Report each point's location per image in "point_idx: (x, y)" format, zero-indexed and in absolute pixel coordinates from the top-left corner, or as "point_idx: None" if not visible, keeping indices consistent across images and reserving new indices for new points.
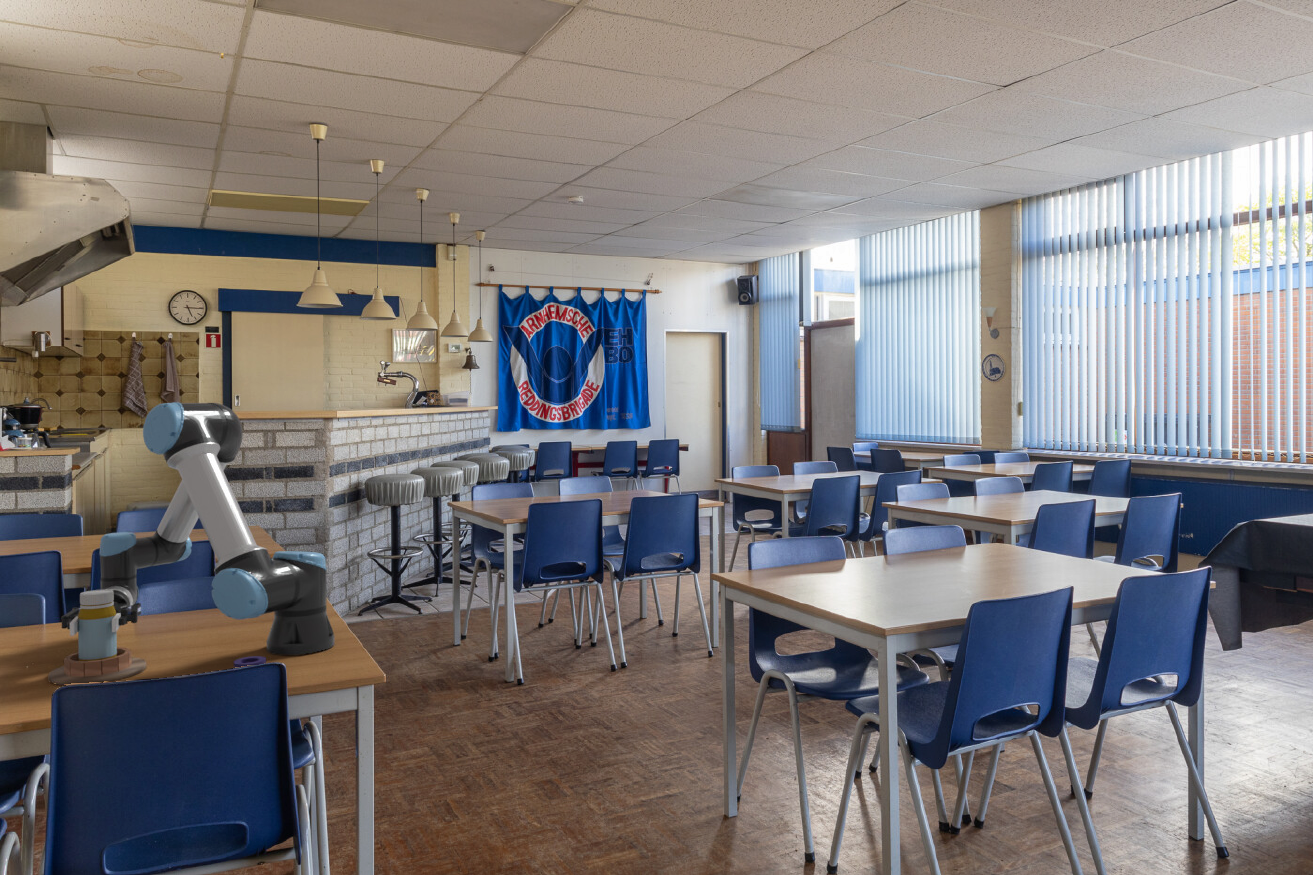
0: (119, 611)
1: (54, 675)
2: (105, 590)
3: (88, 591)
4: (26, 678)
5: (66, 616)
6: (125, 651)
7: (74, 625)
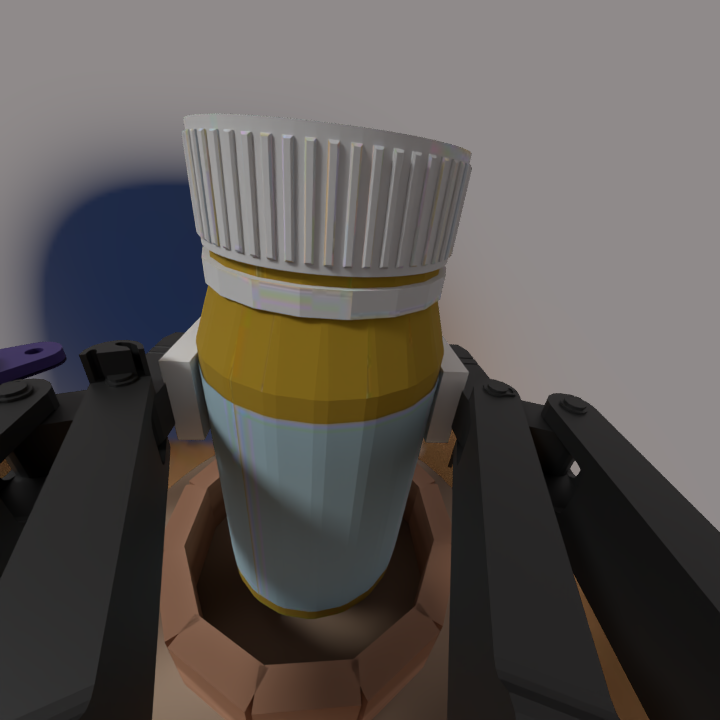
0: (131, 435)
1: (447, 505)
2: (257, 129)
3: (439, 147)
4: (577, 586)
5: (560, 404)
6: (190, 526)
7: None
